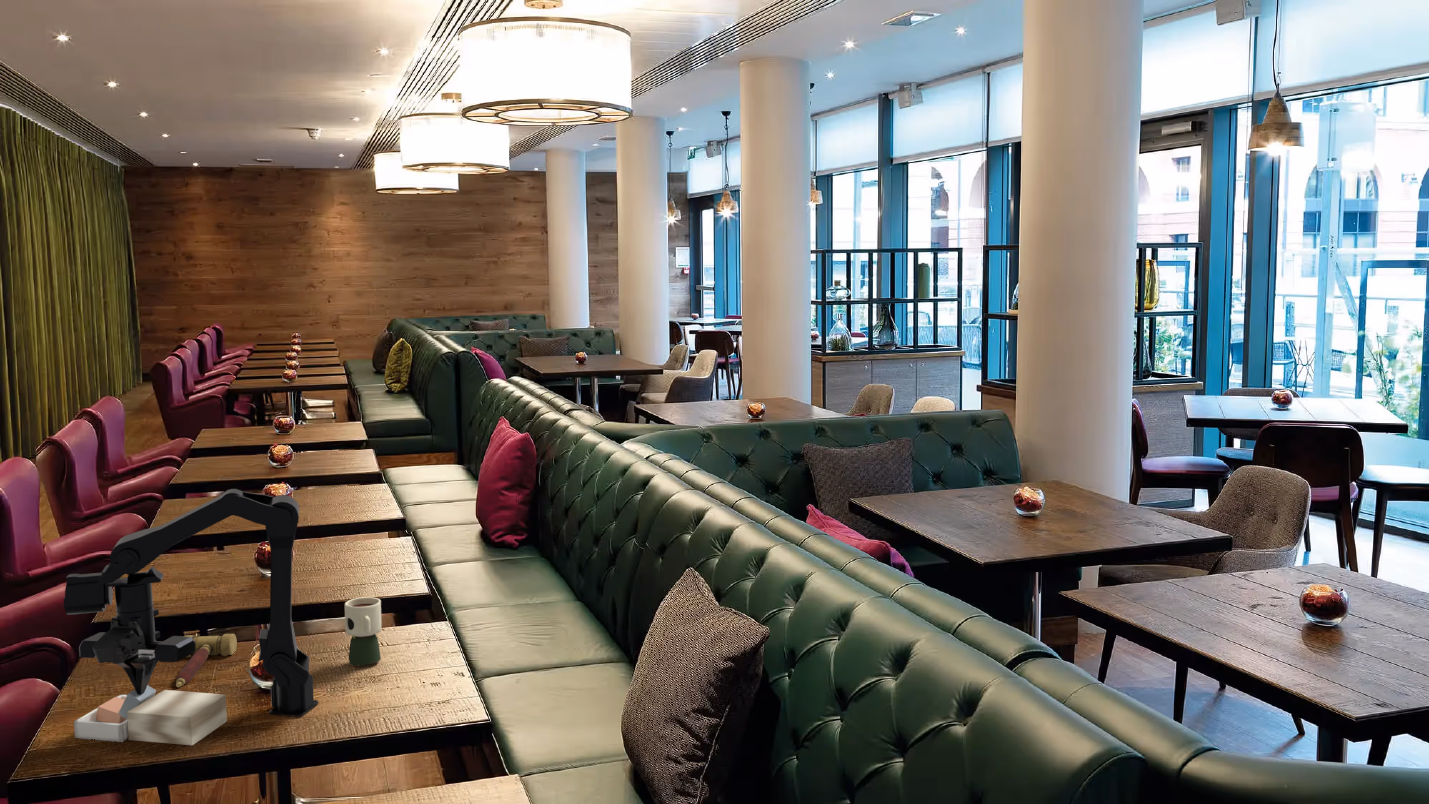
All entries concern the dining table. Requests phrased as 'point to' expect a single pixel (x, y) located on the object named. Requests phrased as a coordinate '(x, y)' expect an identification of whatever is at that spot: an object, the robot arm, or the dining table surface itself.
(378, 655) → the character mug
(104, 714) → the terracotta tile
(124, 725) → the box
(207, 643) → the gavel
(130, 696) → the slate tile
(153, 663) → the robot arm
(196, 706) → the wooden square block
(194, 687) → the dining table surface
